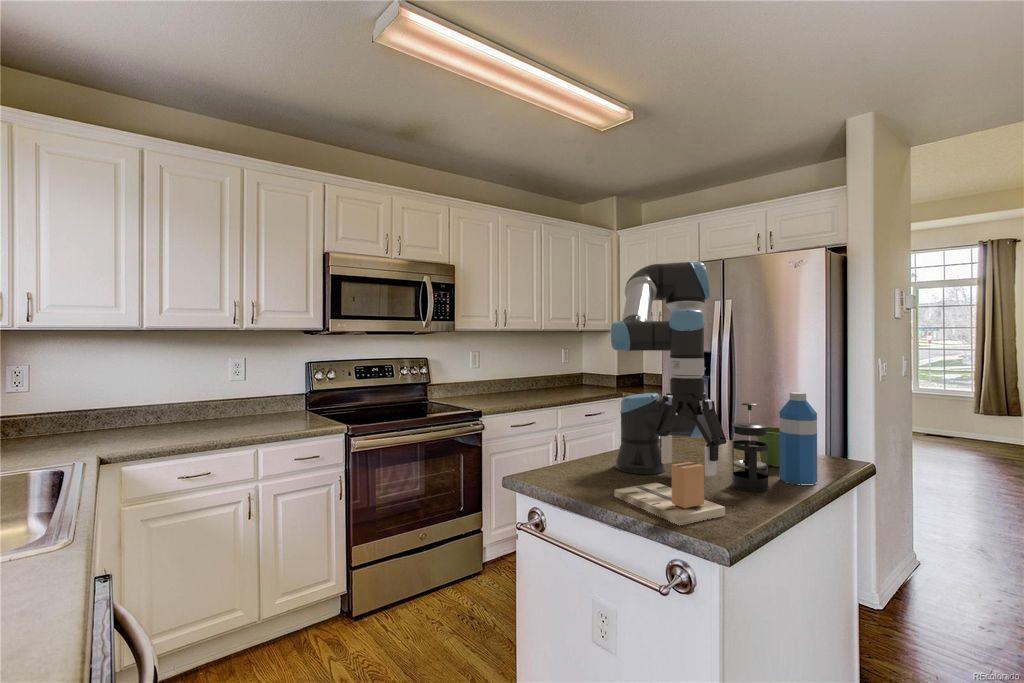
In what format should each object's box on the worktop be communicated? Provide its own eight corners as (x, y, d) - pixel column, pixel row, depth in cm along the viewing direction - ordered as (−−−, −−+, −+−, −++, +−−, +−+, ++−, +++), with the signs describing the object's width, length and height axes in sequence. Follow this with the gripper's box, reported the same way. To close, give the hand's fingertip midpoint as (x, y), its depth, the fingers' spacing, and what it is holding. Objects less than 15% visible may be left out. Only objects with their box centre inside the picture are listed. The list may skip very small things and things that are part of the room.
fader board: (614, 497, 134) (614, 489, 134) (656, 489, 140) (656, 482, 140) (679, 525, 113) (679, 516, 113) (725, 515, 120) (725, 506, 120)
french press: (729, 480, 149) (729, 400, 149) (765, 483, 146) (765, 401, 146) (733, 492, 138) (733, 405, 137) (773, 495, 135) (772, 406, 135)
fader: (671, 503, 121) (671, 463, 121) (691, 499, 124) (690, 460, 124) (684, 508, 117) (684, 467, 117) (704, 504, 120) (703, 464, 120)
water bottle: (772, 478, 150) (771, 392, 150) (796, 475, 153) (795, 390, 153) (800, 487, 141) (800, 395, 141) (825, 483, 145) (824, 393, 144)
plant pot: (780, 471, 158) (779, 434, 158) (745, 463, 169) (745, 428, 169) (803, 466, 164) (803, 430, 164) (769, 458, 175) (768, 425, 174)
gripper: (638, 374, 130) (639, 459, 130) (718, 380, 107) (718, 483, 107) (662, 373, 133) (662, 456, 133) (743, 379, 111) (744, 479, 111)
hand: (687, 469), depth 120 cm, fingers open, 13 cm apart
